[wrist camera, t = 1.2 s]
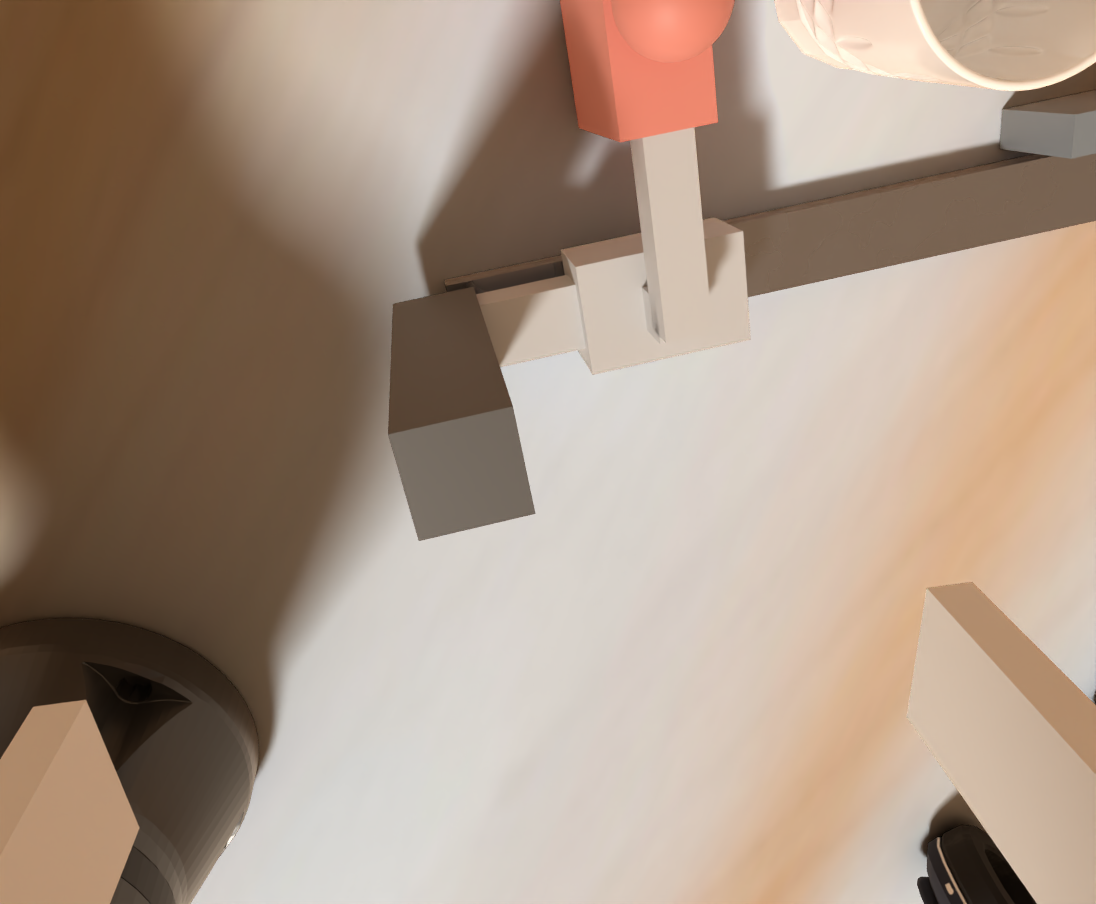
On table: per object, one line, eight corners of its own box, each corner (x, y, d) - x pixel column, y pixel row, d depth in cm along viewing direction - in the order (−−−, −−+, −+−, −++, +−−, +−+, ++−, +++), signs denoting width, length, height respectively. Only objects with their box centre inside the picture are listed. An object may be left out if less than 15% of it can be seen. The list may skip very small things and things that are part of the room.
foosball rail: (461, 351, 33) (462, 359, 33) (444, 279, 32) (445, 285, 31) (1146, 201, 36) (1166, 205, 35) (1157, 127, 34) (1177, 129, 33)
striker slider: (415, 378, 33) (423, 557, 21) (301, -54, 26) (218, -155, 14) (715, 312, 34) (889, 447, 22) (677, -122, 27) (897, -273, 15)
